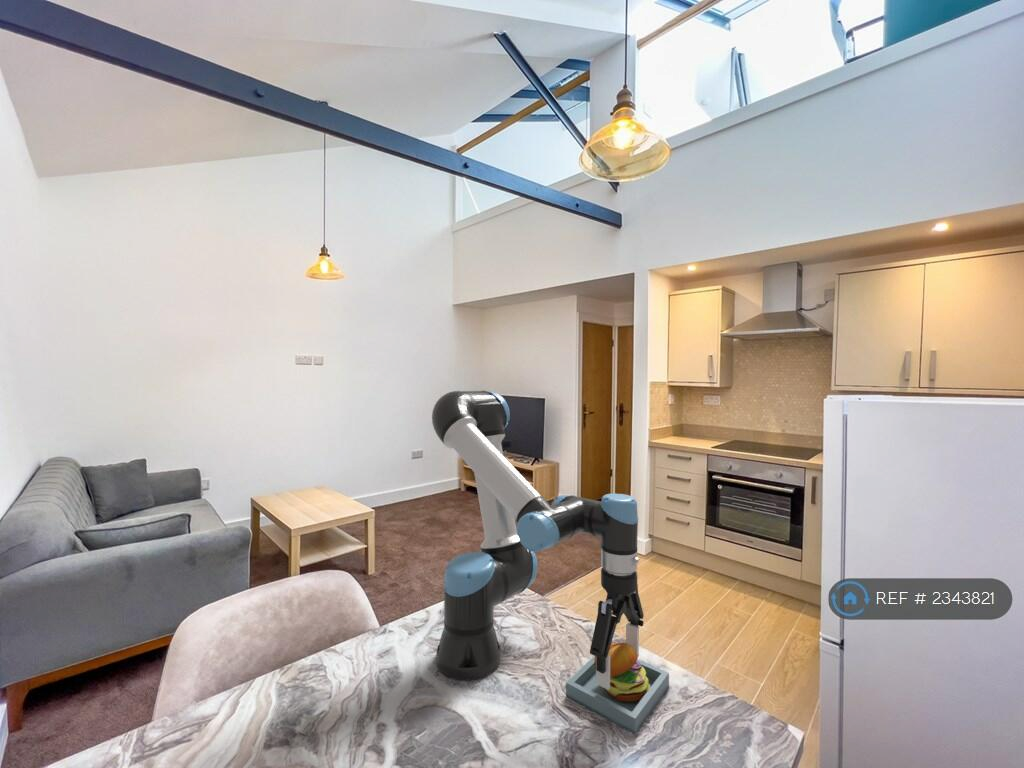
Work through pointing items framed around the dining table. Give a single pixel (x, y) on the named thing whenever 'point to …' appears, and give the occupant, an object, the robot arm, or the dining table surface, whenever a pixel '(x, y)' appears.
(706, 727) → the dining table surface
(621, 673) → the cheeseburger
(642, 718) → the bin
